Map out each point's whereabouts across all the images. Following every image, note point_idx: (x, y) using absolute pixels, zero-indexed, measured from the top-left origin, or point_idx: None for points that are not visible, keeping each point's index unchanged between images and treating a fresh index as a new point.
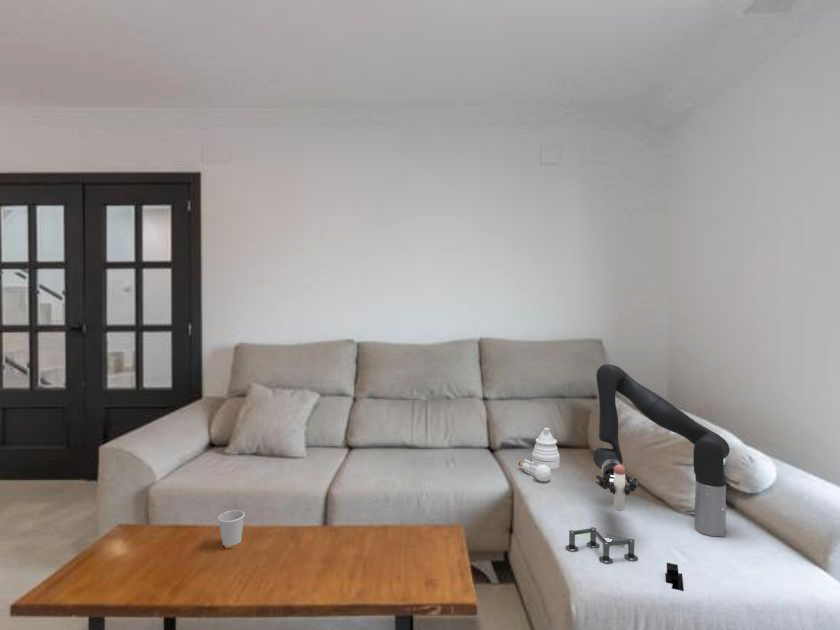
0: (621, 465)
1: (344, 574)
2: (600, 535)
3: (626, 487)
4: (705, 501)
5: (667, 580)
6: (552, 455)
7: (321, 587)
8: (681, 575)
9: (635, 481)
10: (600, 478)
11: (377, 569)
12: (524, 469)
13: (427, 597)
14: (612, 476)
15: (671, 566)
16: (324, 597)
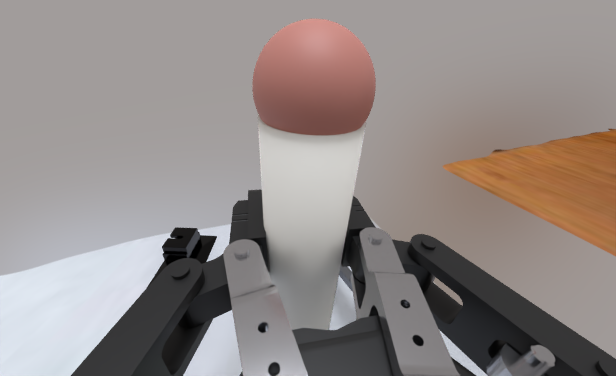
0: (297, 23)
1: (569, 167)
2: (348, 277)
3: (256, 203)
4: None
5: (201, 244)
6: None
7: (552, 155)
8: (153, 280)
9: (90, 361)
10: (510, 296)
11: (563, 178)
12: None
13: (472, 162)
14: (425, 370)
15: (181, 239)
16: (531, 150)
